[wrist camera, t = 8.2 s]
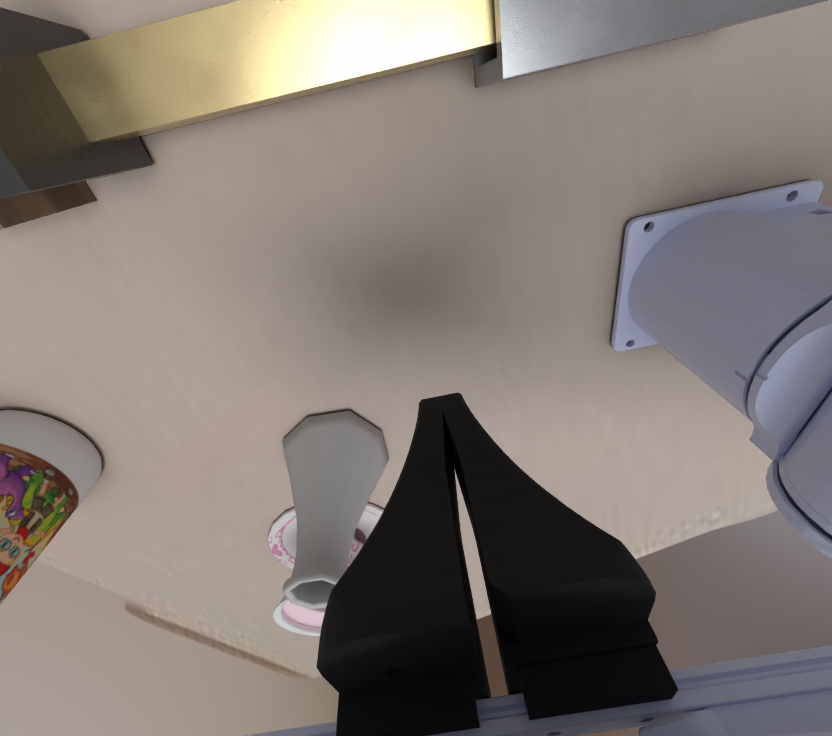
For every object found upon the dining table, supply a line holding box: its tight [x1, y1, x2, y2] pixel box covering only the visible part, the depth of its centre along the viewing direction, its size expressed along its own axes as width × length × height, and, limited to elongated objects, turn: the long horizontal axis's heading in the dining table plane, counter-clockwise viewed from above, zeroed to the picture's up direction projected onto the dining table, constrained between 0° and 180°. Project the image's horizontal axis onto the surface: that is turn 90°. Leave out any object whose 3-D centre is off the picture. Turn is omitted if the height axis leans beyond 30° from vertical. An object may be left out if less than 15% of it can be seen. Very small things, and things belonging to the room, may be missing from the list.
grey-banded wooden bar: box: [0, 0, 497, 199], centre depth 12 cm, size 20×4×7 cm, turn 101°
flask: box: [282, 411, 389, 610], centre depth 23 cm, size 7×7×10 cm
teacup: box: [268, 503, 384, 636], centre depth 31 cm, size 12×12×6 cm
